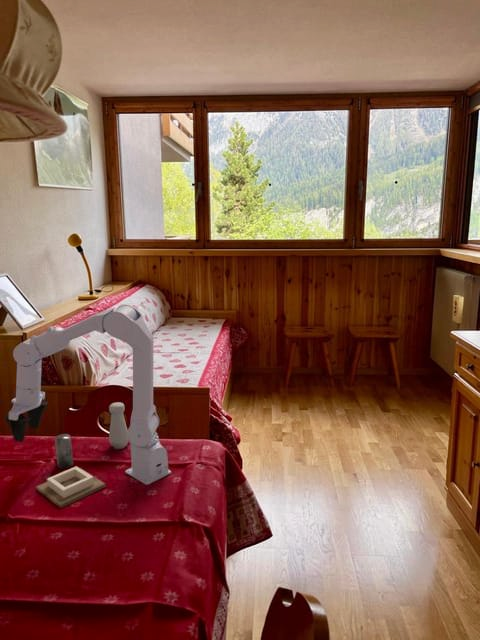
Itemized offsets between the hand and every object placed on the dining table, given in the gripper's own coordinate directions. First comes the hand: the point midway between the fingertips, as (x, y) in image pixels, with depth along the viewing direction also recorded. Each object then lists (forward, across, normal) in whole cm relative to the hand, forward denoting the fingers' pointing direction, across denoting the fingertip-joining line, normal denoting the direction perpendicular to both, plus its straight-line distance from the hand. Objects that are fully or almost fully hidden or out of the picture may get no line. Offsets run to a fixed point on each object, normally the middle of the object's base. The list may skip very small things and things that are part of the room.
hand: (26, 434), depth 131 cm
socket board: (+8, +7, +16) cm, 19 cm away
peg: (+9, -4, +9) cm, 14 cm away
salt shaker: (+8, -16, +20) cm, 27 cm away
